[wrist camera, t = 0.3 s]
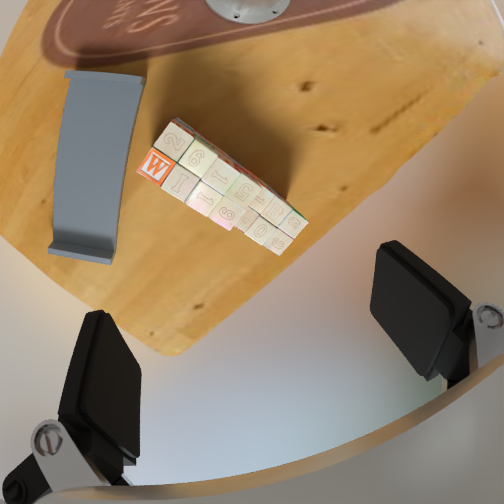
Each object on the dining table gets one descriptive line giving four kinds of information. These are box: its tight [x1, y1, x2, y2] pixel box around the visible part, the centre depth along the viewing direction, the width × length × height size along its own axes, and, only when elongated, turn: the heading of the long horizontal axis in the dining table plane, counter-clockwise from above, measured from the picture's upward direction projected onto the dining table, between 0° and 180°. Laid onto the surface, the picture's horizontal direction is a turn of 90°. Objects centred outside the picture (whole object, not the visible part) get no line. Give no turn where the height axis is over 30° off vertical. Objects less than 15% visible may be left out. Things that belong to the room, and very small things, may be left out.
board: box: [48, 70, 147, 265], centre depth 34 cm, size 27×11×4 cm, turn 163°
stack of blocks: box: [137, 117, 308, 256], centre depth 36 cm, size 21×6×12 cm, turn 50°
